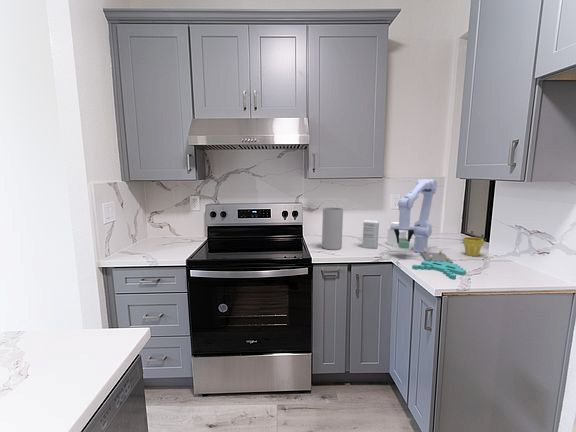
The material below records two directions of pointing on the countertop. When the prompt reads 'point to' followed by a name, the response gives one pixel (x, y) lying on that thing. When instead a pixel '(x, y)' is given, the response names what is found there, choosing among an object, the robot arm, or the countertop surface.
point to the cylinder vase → (332, 228)
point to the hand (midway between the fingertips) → (403, 242)
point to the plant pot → (472, 245)
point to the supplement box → (370, 234)
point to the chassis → (435, 256)
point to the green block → (403, 243)
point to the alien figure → (441, 268)
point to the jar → (392, 236)
